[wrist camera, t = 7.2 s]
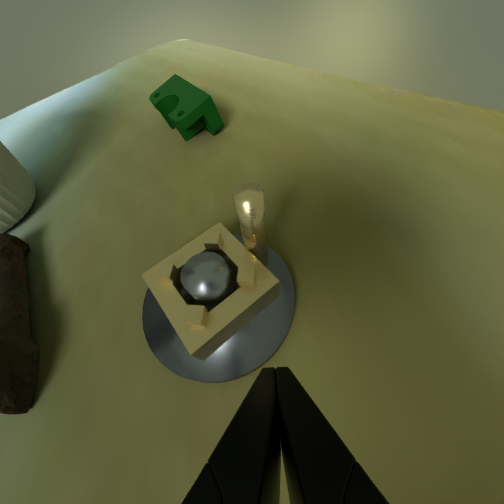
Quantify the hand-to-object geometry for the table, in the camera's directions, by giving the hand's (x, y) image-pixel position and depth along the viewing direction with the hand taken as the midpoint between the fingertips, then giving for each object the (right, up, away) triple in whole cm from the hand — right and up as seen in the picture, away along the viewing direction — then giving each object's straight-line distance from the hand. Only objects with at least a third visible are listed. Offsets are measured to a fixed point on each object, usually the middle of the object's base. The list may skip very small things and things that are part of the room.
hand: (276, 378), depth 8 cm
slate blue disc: (-4, 0, +15) cm, 15 cm away
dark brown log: (-23, -2, +16) cm, 29 cm away
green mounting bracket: (-11, +25, +32) cm, 42 cm away
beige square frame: (-3, +1, +14) cm, 14 cm away
